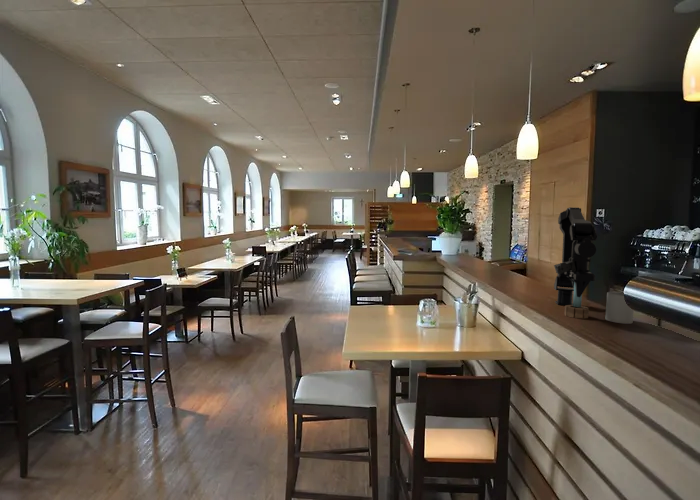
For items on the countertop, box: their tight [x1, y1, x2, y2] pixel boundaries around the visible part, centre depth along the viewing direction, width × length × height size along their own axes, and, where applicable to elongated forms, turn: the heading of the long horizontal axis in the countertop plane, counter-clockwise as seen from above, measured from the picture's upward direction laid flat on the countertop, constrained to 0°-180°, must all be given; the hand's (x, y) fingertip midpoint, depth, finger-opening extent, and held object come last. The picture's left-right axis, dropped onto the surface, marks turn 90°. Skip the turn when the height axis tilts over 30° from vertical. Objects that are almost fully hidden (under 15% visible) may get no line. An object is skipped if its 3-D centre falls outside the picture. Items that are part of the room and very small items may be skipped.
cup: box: [604, 291, 635, 324], centre depth 150 cm, size 8×8×10 cm
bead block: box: [564, 305, 590, 319], centre depth 156 cm, size 8×8×4 cm
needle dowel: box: [572, 282, 583, 307], centre depth 155 cm, size 3×3×10 cm
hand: (577, 296), depth 155 cm, fingers closed on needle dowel, 3 cm apart
